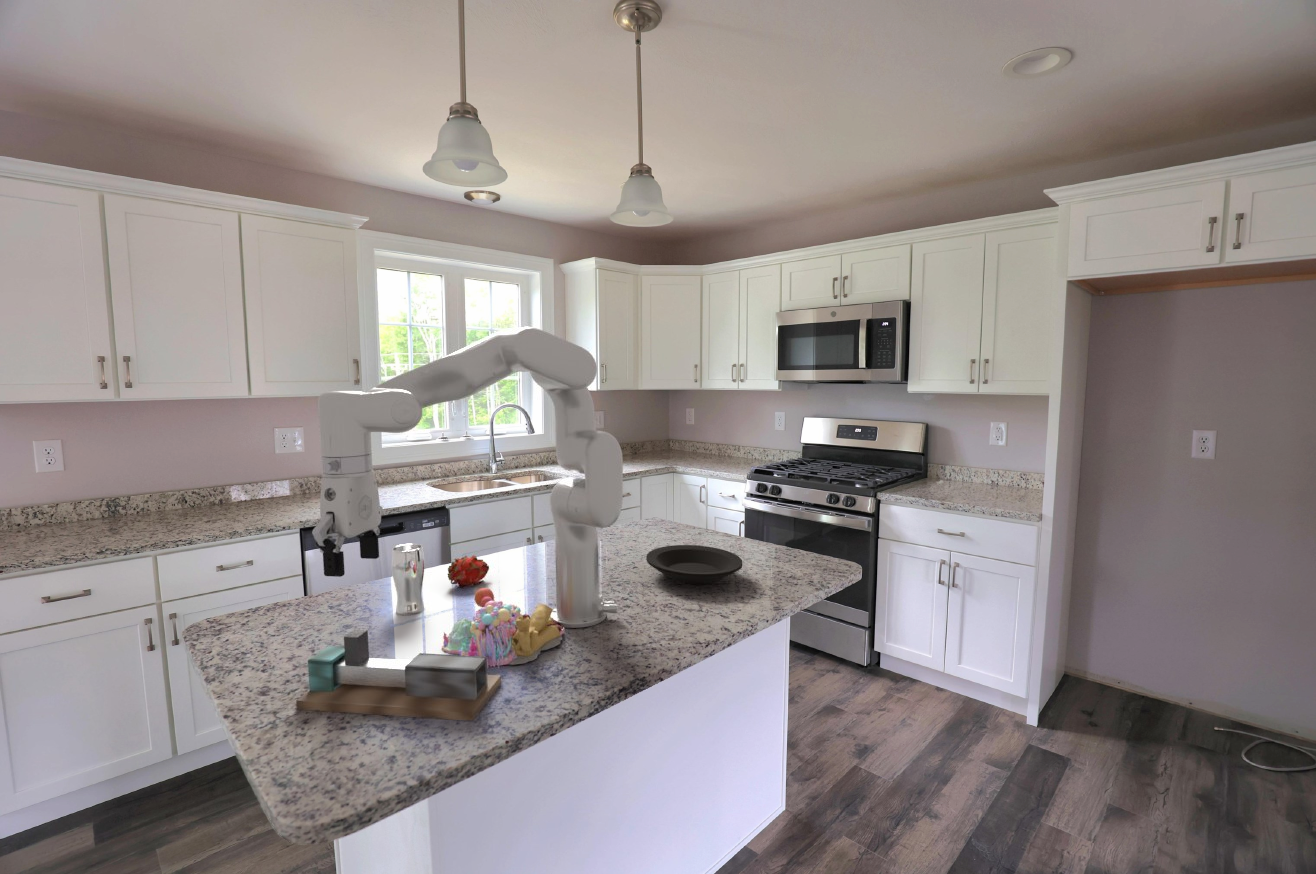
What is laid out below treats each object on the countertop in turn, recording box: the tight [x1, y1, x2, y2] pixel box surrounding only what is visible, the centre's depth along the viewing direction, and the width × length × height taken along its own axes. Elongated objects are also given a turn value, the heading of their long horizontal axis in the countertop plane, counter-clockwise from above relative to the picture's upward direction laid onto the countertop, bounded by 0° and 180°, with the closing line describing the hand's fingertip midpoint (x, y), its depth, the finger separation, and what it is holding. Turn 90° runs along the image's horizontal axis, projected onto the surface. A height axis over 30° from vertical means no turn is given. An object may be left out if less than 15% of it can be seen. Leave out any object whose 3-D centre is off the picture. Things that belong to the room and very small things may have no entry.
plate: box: [646, 544, 743, 586], centre depth 166 cm, size 28×24×6 cm
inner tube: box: [332, 629, 413, 688], centre depth 105 cm, size 19×3×8 cm, turn 83°
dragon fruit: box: [447, 555, 490, 588], centre depth 162 cm, size 8×8×12 cm
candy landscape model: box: [441, 587, 566, 670], centre depth 126 cm, size 25×24×9 cm
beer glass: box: [391, 543, 425, 616], centre depth 143 cm, size 7×7×15 cm
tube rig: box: [295, 645, 502, 722], centre depth 105 cm, size 30×12×7 cm, turn 83°
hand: (353, 566), depth 104 cm, fingers open, 9 cm apart
